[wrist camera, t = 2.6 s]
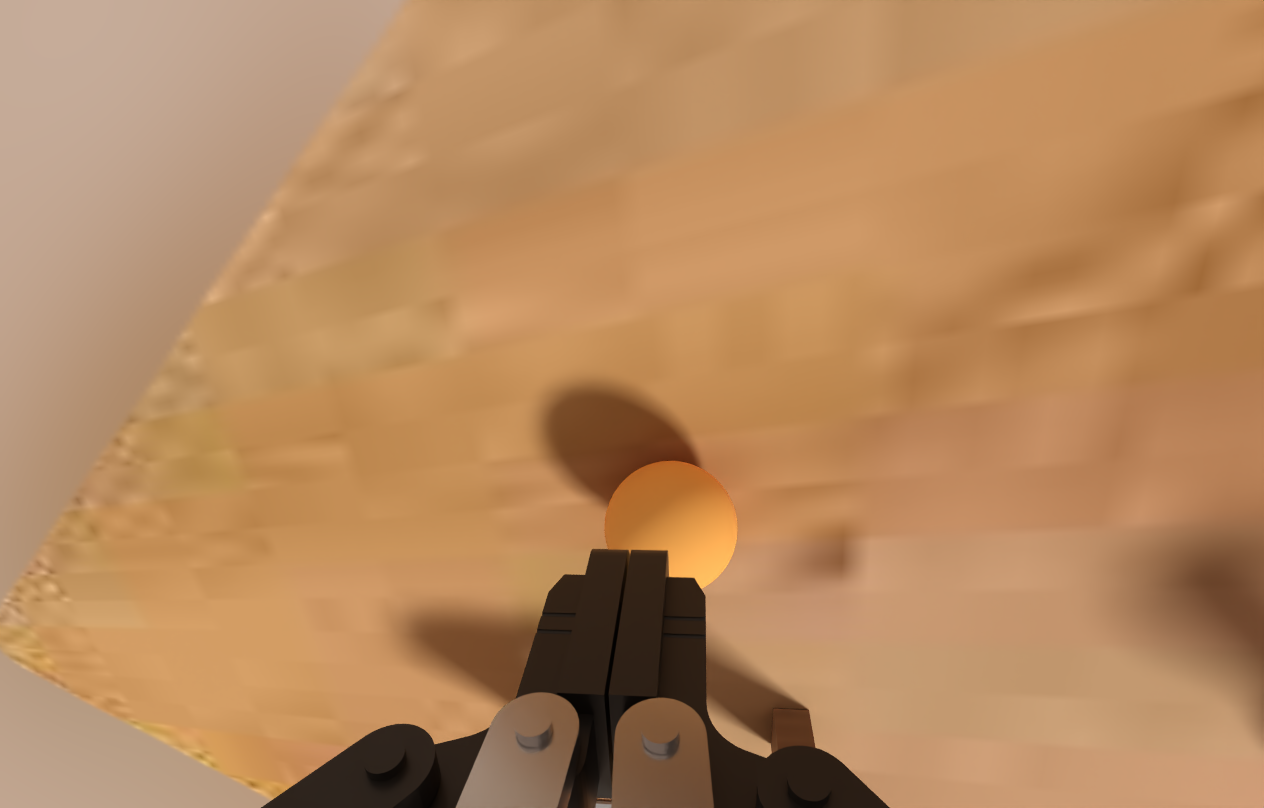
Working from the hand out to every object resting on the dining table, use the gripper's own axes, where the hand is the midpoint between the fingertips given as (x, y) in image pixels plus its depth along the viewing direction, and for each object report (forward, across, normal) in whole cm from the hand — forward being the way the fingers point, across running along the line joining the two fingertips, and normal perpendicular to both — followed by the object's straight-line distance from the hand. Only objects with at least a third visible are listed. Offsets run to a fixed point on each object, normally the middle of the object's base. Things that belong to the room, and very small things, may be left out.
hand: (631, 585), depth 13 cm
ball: (+15, 0, +9) cm, 17 cm away
